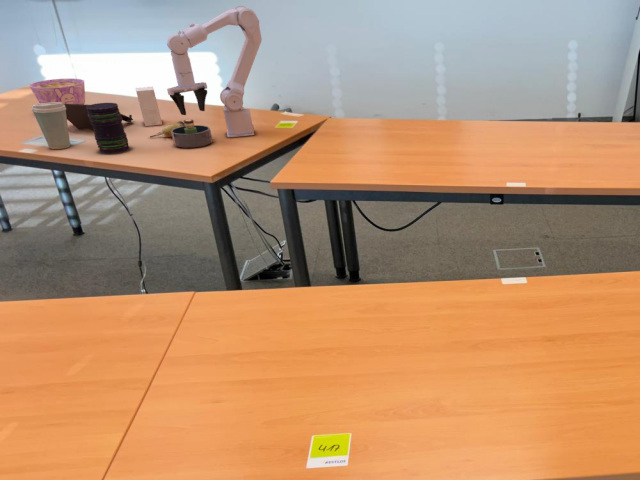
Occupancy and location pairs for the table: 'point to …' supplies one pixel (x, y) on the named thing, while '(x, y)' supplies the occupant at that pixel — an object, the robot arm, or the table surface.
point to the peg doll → (189, 127)
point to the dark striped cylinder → (108, 128)
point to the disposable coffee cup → (53, 123)
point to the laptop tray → (83, 116)
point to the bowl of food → (59, 91)
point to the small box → (148, 106)
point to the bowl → (192, 137)
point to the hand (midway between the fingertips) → (193, 112)
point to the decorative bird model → (169, 129)
